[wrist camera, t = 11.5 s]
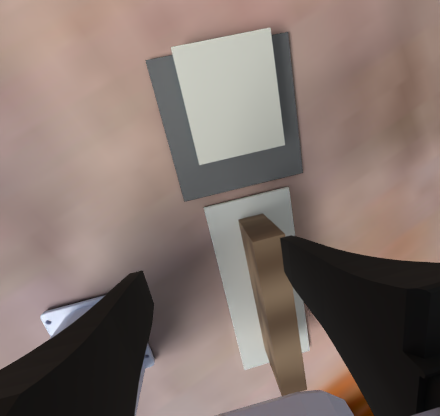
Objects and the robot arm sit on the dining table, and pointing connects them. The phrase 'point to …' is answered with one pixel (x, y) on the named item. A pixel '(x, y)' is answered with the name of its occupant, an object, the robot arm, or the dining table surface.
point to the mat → (236, 166)
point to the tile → (230, 94)
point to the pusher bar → (274, 301)
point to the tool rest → (238, 269)
